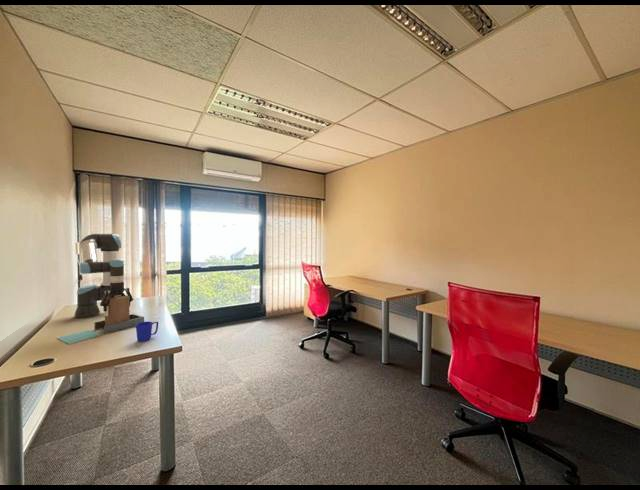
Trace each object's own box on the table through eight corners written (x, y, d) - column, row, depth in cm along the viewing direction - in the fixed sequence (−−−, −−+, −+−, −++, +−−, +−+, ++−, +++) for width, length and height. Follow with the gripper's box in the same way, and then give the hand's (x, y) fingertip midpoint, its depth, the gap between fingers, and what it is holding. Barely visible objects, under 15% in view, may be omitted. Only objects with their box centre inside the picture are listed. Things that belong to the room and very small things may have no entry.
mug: (161, 337, 162) (161, 321, 161) (140, 343, 151) (140, 326, 151) (154, 334, 166) (154, 319, 166) (133, 340, 156) (133, 324, 155)
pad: (56, 338, 158) (56, 337, 158) (89, 330, 172) (89, 329, 172) (68, 344, 149) (68, 343, 149) (102, 335, 163) (102, 334, 163)
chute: (94, 329, 173) (94, 322, 173) (133, 320, 193) (133, 313, 193) (105, 334, 166) (105, 326, 166) (144, 323, 186) (144, 316, 186)
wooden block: (116, 328, 172) (116, 298, 172) (104, 327, 174) (103, 297, 174) (130, 323, 182) (130, 295, 182) (118, 322, 184) (118, 294, 184)
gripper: (98, 285, 165) (98, 319, 166) (139, 280, 186) (139, 310, 187) (92, 283, 169) (93, 317, 169) (133, 279, 190) (133, 308, 190)
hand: (117, 313), depth 178 cm, fingers closed on wooden block, 11 cm apart
